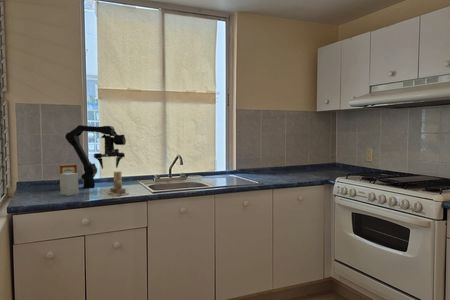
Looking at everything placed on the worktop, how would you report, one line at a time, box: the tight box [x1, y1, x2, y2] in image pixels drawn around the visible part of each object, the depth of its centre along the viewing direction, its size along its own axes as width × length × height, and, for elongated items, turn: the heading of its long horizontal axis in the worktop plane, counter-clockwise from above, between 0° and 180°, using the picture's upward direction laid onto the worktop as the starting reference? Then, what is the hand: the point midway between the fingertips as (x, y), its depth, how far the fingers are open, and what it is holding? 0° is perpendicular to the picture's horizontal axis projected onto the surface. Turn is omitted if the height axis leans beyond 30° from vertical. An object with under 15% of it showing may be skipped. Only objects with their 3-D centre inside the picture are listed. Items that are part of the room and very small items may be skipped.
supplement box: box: [59, 172, 80, 197], centre depth 204 cm, size 7×7×13 cm
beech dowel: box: [113, 170, 123, 189], centre depth 206 cm, size 4×4×10 cm
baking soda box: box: [58, 163, 78, 190], centre depth 222 cm, size 10×6×16 cm
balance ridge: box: [106, 186, 130, 197], centre depth 206 cm, size 11×8×4 cm
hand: (109, 168), depth 226 cm, fingers open, 9 cm apart
